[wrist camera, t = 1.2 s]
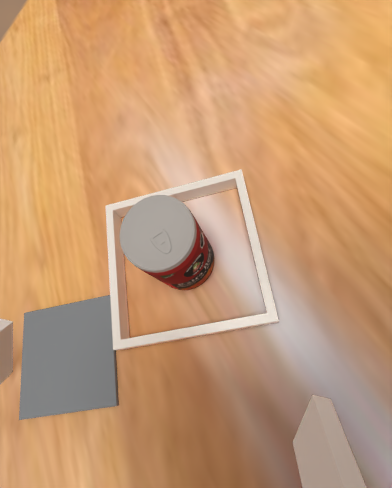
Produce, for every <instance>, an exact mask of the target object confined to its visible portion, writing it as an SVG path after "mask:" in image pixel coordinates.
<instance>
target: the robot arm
mask: <svg viewBox="0 0 392 488" xmlns="http://www.w3.org/2000/svg"><path fill="white" fill-rule="evenodd" d="M12 372H13V321H9V320H4V319H0V384H1V383H2V382H3V381H4V380H5V379H6V378H7V377H8V376H9V375H10V374H11V373H12ZM293 446H294V451H295V456H296V460H297V465H298V470H299V474H300V479H301V484H302V488H367V487H366V485H365V482H364V480H363V477H362V475H361V472H360V470H359V468H358V465H357V463H356V460H355V458H354V455H353V453H352V450H351V448H350V445H349V443H348V440H347V438H346V436H345V433H344V431H343V428H342V426H341V423H340V421H339V418H338V416H337V413H336V411H335V408H334V406H333V403H332V401H331V399H329V398H325V397H321V396H317V395H312V397H311V399H310V401H309V404H308V406H307V409H306V411H305V413H304V416H303V418H302V421H301V423H300V426H299V428H298V430H297V433H296V435H295V438H294V440H293Z"/></svg>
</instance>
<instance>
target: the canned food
mask: <svg viewBox="0 0 392 488" xmlns="http://www.w3.org/2000/svg"><path fill="white" fill-rule="evenodd" d="M120 244H121V248H122V250H123V252H124V254H125V256H126V257H127V259H128V260H129V261H130V262H131V263H132V264H134V265H135V266H136V267H138V268H139V269H141V270H142V271H144V272H146V273H148V274H149V275H151V276H153V277H155V278H156V279H158V280H160V281H162V282H164V283H165V284H167V285H169V286H171V287H172V288H175V289H180V290H187V289H192V288H195V287H197V286H199V285H201V284H202V283H203V282H204V281H205V280H206V279H207V278H208V277H209V275H210V273H211V271H212V268H213V265H214V253H213V250H212V247H211V245H210V243H209V241H208V240H207V238H206V236H205V235H204V233H203V231H202V229H201V228H200V226H199V224H198V223H197V221H196V219H195V217H194V216H193V214H192V213H191V211H190V210H189V209H188V208H187V207H186V205H185V204H184V203H182V202H181V201H180V200H178V199H176V198H174V197H172V196H167V195H154V196H150V197H147V198H144V199H142V200H141V201H139V202H137V203H136V204H135V205H134V206H133V207H132V208H131V209H130V210H129V211H128V212H127V214H126V216H125V217H124V219H123V222H122V224H121V228H120Z"/></svg>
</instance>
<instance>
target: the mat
mask: <svg viewBox="0 0 392 488" xmlns="http://www.w3.org/2000/svg"><path fill="white" fill-rule="evenodd" d="M118 405H119V404H118V385H117V367H116V350H113V337H112V318H111V299H110V295H108V296H103V297H98V298H94V299H89V300H84V301H79V302H75V303H70V304H65V305H61V306H56V307H51V308H46V309H42V310H37V311H32V312H27V313H24V331H23V352H22V372H21V392H20V412H19V420H22V419H29V418H36V417H43V416H50V415H57V414H64V413H71V412H78V411H85V410H92V409H99V408H106V407H113V406H118Z"/></svg>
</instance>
